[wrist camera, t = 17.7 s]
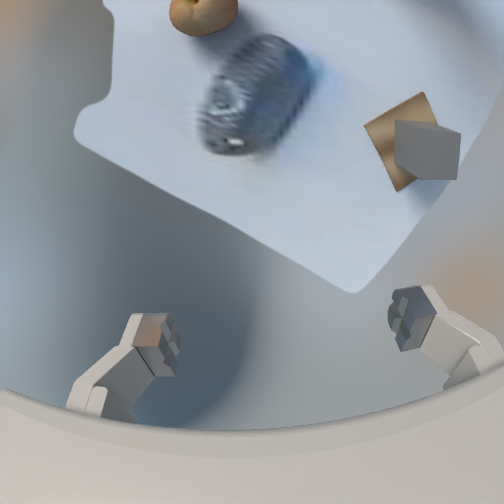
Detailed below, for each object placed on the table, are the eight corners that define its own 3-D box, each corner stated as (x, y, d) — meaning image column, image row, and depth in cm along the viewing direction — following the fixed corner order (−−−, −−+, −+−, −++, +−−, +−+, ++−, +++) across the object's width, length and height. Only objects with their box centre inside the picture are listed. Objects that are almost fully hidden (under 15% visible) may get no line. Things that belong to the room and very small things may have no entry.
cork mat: (363, 125, 34) (364, 125, 34) (422, 91, 30) (423, 91, 30) (396, 190, 39) (397, 191, 39) (447, 156, 35) (449, 157, 35)
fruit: (179, -6, 23) (163, -25, 16) (239, -10, 23) (237, -32, 17) (176, 43, 27) (158, 32, 21) (238, 39, 28) (235, 26, 21)
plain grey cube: (393, 161, 36) (420, 179, 29) (394, 119, 33) (424, 129, 26) (427, 162, 36) (456, 179, 29) (429, 122, 32) (460, 133, 26)
